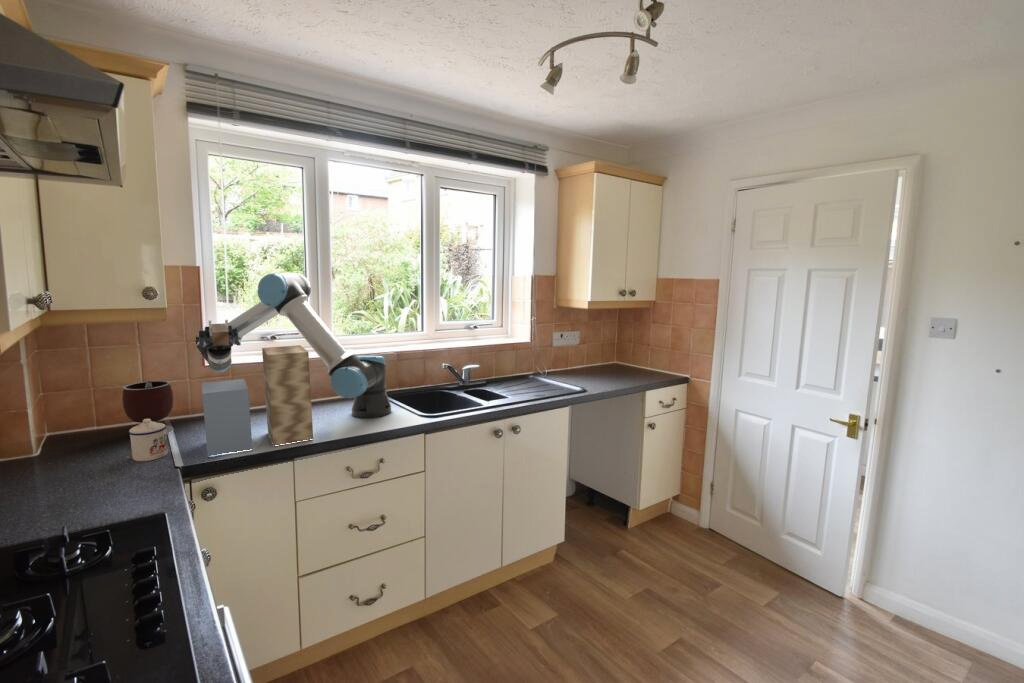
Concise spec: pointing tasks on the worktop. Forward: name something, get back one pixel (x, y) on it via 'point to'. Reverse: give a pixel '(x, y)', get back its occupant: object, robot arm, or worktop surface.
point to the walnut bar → (220, 334)
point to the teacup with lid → (148, 441)
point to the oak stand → (287, 394)
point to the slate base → (227, 416)
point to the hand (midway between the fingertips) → (218, 323)
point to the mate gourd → (148, 401)
